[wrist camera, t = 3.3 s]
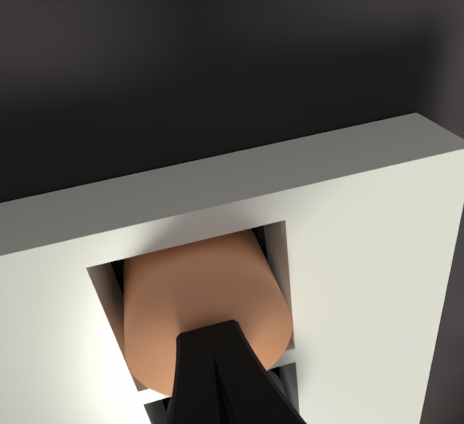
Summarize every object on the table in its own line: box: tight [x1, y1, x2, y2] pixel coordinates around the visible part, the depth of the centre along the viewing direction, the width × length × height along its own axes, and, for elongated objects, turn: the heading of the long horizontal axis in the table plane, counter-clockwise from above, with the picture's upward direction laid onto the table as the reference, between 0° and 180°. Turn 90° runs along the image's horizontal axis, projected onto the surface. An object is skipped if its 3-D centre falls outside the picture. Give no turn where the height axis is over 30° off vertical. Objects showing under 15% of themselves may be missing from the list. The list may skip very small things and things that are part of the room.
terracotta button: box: [123, 228, 292, 396], centre depth 11 cm, size 4×4×3 cm
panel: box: [0, 112, 464, 424], centre depth 15 cm, size 17×14×2 cm
